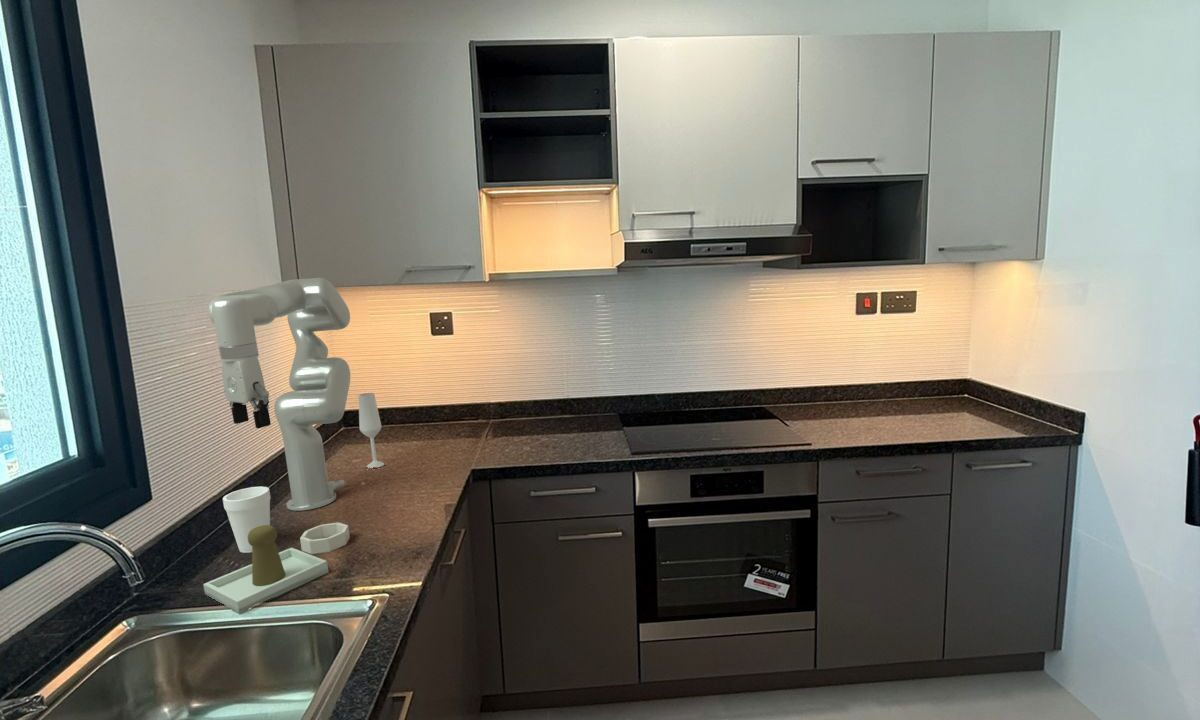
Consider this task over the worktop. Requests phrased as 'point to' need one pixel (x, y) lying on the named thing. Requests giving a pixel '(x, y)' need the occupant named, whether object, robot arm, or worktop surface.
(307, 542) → the collar
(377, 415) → the champagne flute
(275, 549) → the cork
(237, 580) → the tray
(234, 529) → the foam cup
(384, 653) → the worktop surface
